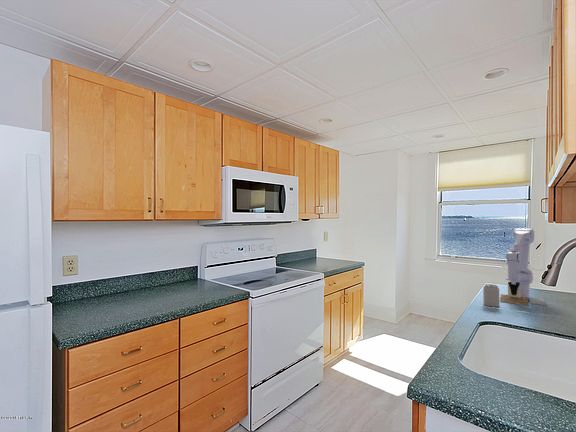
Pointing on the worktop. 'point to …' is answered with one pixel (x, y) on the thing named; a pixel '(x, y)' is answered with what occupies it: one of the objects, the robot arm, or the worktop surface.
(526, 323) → the worktop surface
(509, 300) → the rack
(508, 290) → the beige rectangular block
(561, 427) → the worktop surface
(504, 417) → the worktop surface
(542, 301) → the stand
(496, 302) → the can
